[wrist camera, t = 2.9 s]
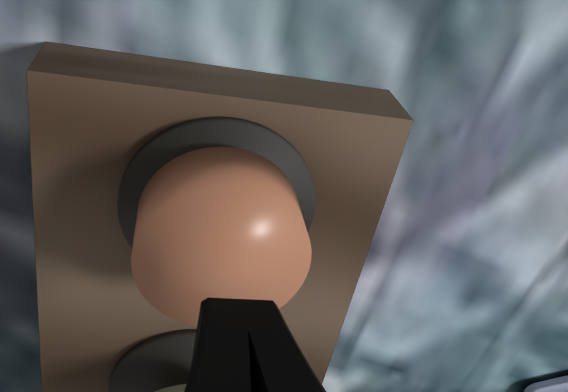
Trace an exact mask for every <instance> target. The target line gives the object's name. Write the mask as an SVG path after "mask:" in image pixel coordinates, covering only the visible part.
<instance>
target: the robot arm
mask: <svg viewBox="0 0 568 392" xmlns="http://www.w3.org/2000/svg"><path fill="white" fill-rule="evenodd" d="M184 392H326V391H325V389H324V388H323V386H322V384H321V383H320V381H319V380H318V378H317V376H316V375H315V373H314V372H313V370H312V368H311V367H310V365H309V363H308V362H307V360H306V358H305V356H304V355H303V353H302V351H301V349H300V348H299V346H298V344H297V342H296V341H295V339H294V337H293V335H292V333H291V331H290V330H289V328H288V326H287V324H286V322H285V320H284V318H283V316H282V314H281V312H280V310H279V308H278V306H277V305H276V304H275V302H274V301H273V300H253V299H231V298H209V297H208V298H206V299H205V300H203V301H202V302H201V305H200V311H199V318H198V324H197V330H196V337H195V343H194V349H193V356H192V362H191V368H190V374H189V377H188V381H187V384H186V387H185V391H184ZM524 392H568V375H567V376H562V377H558V378H553V379H549V380H545V381H540V382H536V383H533V384H530V385H529V386H527V387H526V388H525V390H524Z"/></svg>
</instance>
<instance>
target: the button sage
mask: <svg viewBox="0 0 568 392" xmlns="http://www.w3.org/2000/svg"><path fill="white" fill-rule="evenodd" d="M185 387H186V384H182V385H176V386H171V387H167V388H164V389H161V390H158V391H156V392H184V391H185Z"/></svg>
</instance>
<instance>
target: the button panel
mask: <svg viewBox="0 0 568 392" xmlns="http://www.w3.org/2000/svg"><path fill="white" fill-rule="evenodd" d="M27 87H28V108H29V129H30V150H31V171H32V193H33V214H34V235H35V256H36V277H37V298H38V319H39V340H40V361H41V382H42V392H156V391H158V390H161V389H164V388H167V387H171V386H176V385H182V384H187V381H188V377H189V374H190V368H191V362H192V356H193V349H194V343H195V337H196V330H197V326H194V325H189V324H186V323H182V322H179V321H177V320H174V319H172V318H170V317H168V316H166V315H164V314H162V313H161V312H160V311H158V310H157V309H155V308H154V307H153V306H152V305H151V304H150V303H149V302H148V301H147V300H146V299H145V298H144V297H143V295H142V294H141V293H140V291H139V289H138V287H137V286H136V283H135V281H134V278H133V274H132V269H131V255H132V248H133V240H134V233H135V225H136V218H137V211H138V204H139V200H140V197H141V194H142V192H143V190H144V188H145V186H146V184H147V183H148V181H149V180H150V179H151V177H152V176H153V175H154V174H155V173H156V172H157V171H158V170H159V169H160V168H161V167H163V166H164V165H165V164H166V163H168V162H169V161H171V160H173V159H174V158H176V157H178V156H180V155H183V154H185V153H187V152H191V151H194V150H197V149H202V148H208V147H233V148H239V149H244V150H247V151H251V152H254V153H256V154H258V155H261V156H263V157H264V158H266V159H268V160H269V161H271V162H272V163H274V164H275V165H276V166H277V167H279V168H280V170H281V171H282V172H283V173H284V174H285V175H286V176H287V178H288V179H289V181H290V182H291V184H292V186H293V188H294V190H295V194H296V197H297V200H298V203H299V207H300V210H301V213H302V216H303V219H304V223H305V226H306V229H307V232H308V236H309V239H310V242H311V250H312V254H311V264H310V269H309V271H308V274H307V277H306V279H305V281H304V282H303V284H302V286H301V287H300V289H299V290H298V291H297V293H296V294H295V295H294V296H293V297H292V298H291V299H290V300H289V301H288V302H287V303H286V304H284V305H283V306H282V307H281V308H279V310H280V312H281V314H282V316H283V318H284V320H285V322H286V324H287V326H288V328H289V330H290V331H291V333H292V335H293V337H294V339H295V341H296V342H297V344H298V346H299V348H300V349H301V351H302V353H303V355H304V356H305V358H306V360H307V362H308V363H309V365H310V367H311V368H312V370H313V372H314V373H315V375H316V376H317V378H318V380H319V381H320V383H321V384H322V383H323V380H324V377H325V374H326V371H327V368H328V365H329V362H330V360H331V357H332V354H333V351H334V348H335V345H336V342H337V339H338V337H339V334H340V331H341V328H342V325H343V322H344V319H345V316H346V314H347V311H348V308H349V305H350V302H351V299H352V296H353V293H354V290H355V288H356V285H357V282H358V279H359V276H360V273H361V270H362V267H363V265H364V262H365V259H366V256H367V253H368V250H369V247H370V244H371V242H372V239H373V236H374V233H375V230H376V227H377V224H378V221H379V219H380V216H381V213H382V210H383V207H384V204H385V201H386V198H387V196H388V193H389V190H390V187H391V184H392V181H393V178H394V175H395V173H396V170H397V167H398V164H399V161H400V158H401V155H402V152H403V149H404V147H405V144H406V141H407V138H408V135H409V132H410V129H411V126H412V124H413V121H414V120H413V119H412V118H411V117H410V115H409V114H408V113H407V112H406V110H405V109H404V108H403V107H402V106H401V104H400V103H399V102H398V101H397V99H396V98H395V97H394V96H393V95H392V93H391V92H390V91H389V90H383V89H376V88H369V87H362V86H355V85H348V84H341V83H334V82H326V81H319V80H312V79H305V78H298V77H291V76H284V75H277V74H270V73H263V72H256V71H249V70H242V69H235V68H228V67H221V66H213V65H206V64H199V63H192V62H185V61H178V60H171V59H164V58H157V57H150V56H143V55H136V54H129V53H122V52H115V51H108V50H101V49H93V48H86V47H79V46H72V45H65V44H58V43H51V42H46V44H45V45H44V47H43V48H42V49H41V51H40V52H39V54H38V55H37V56H36V58H35V59H34V61H33V62H32V63H31V65H30V66H29V68H28V69H27Z"/></svg>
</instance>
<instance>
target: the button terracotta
mask: <svg viewBox="0 0 568 392" xmlns="http://www.w3.org/2000/svg"><path fill="white" fill-rule="evenodd" d="M311 254H312V250H311V242H310V239H309V236H308V232H307V229H306V226H305V223H304V219H303V216H302V213H301V210H300V207H299V203H298V200H297V197H296V194H295V190H294V188H293V186H292V184H291V182H290V181H289V179H288V178H287V176H286V175H285V174H284V173H283V172H282V171H281V170H280V168H279V167H277V166H276V165H275V164H274V163H272V162H271V161H269V160H268V159H266V158H264V157H263V156H261V155H258V154H256V153H254V152H251V151H247V150H244V149H239V148H233V147H208V148H202V149H197V150H194V151H191V152H187V153H185V154H183V155H180V156H178V157H176V158H174V159H173V160H171V161H169V162H168V163H166V164H165V165H164V166H163V167H161V168H160V169H159V170H158V171H157V172H156V173H155V174H154V175H153V176H152V177H151V179H150V180H149V181H148V183H147V184H146V186H145V188H144V190H143V192H142V194H141V197H140V200H139V204H138V211H137V218H136V225H135V233H134V240H133V248H132V255H131V269H132V274H133V278H134V281H135V283H136V286H137V287H138V289H139V291H140V293H141V294H142V295H143V297H144V298H145V299H146V300H147V301H148V302H149V303H150V304H151V305H152V306H153V307H154V308H155V309H157V310H158V311H160V312H161V313H162V314H164V315H166V316H168V317H170V318H172V319H174V320H177V321H179V322H182V323H186V324H189V325H194V326H197V324H198V318H199V311H200V305H201V302H202V301H203V300H205V299H206V298H208V297H209V298H231V299H253V300H273V301H274V302H275V304H276V305H277V306H278V308H281V307H282V306H283V305H284V304H286V303H287V302H288V301H289V300H290V299H291V298H292V297H293V296H294V295H295V294H296V293H297V291H298V290H299V289H300V287H301V286H302V284H303V282H304V281H305V279H306V277H307V274H308V271H309V269H310V264H311Z"/></svg>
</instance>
